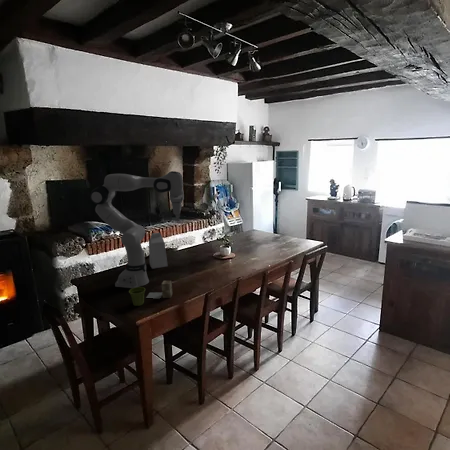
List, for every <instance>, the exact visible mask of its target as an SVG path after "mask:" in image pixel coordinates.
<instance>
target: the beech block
mask: <svg viewBox="0 0 450 450" xmlns="http://www.w3.org/2000/svg"><path fill="white" fill-rule="evenodd" d="M161 293H162V298H163V299H165V298H167V299H169V298H170V299H171V298H172V296H173V285H172V280H163V281H162V282H161Z"/></svg>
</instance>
